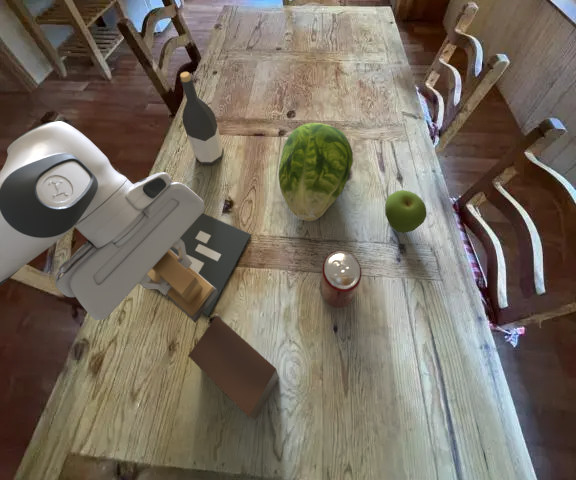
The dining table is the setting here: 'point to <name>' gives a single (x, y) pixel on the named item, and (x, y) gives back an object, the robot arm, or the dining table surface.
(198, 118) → the wine bottle
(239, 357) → the walnut block
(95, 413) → the dining table surface
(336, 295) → the soda can
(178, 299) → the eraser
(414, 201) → the apple
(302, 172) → the lettuce
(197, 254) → the slate board
